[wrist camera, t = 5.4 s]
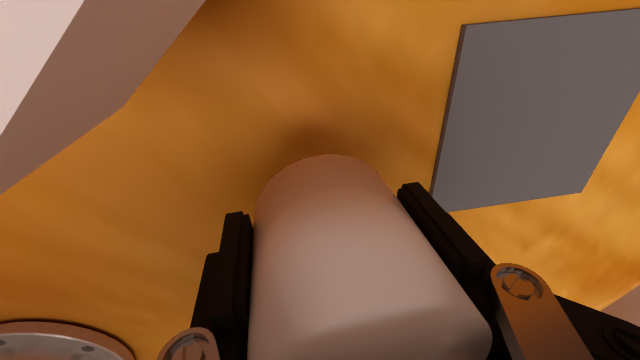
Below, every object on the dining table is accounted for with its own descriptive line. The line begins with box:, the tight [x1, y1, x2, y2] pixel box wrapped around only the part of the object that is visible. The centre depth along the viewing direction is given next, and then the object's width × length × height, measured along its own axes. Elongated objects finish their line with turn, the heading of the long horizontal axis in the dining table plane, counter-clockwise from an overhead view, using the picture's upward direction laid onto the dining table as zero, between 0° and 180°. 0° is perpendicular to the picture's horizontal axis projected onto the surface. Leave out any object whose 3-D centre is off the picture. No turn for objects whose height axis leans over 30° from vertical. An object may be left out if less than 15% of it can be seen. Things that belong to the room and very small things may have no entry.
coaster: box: [430, 8, 640, 212], centre depth 17 cm, size 12×12×1 cm
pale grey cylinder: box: [247, 154, 493, 360], centre depth 9 cm, size 6×6×6 cm
